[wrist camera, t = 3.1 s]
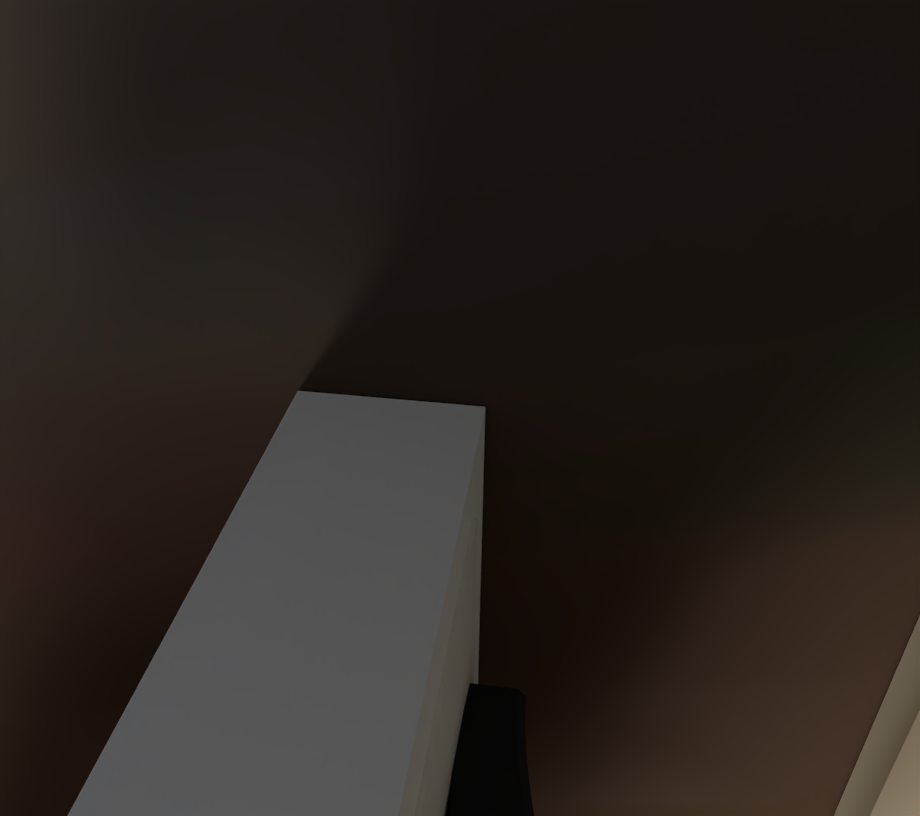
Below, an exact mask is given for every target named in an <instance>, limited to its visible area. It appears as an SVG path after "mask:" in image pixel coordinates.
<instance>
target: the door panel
mask: <svg viewBox="0 0 920 816" xmlns="http://www.w3.org/2000/svg"><path fill="white" fill-rule="evenodd" d="M484 441H485V407H483V406H471V405H459V404H447V403H436V402H424V401H412V400H400V399H389V398H377V397H365V396H353V395H342V394H330V393H318V392H306V391H297V393H296V395H295V397H294V398H293V400H292V402H291V404H290V406H289V408H288V410H287V411H286V413H285V415H284V417H283V419H282V421H281V422H280V424H279V426H278V428H277V430H276V432H275V434H274V435H273V437H272V439H271V441H270V443H269V445H268V446H267V448H266V450H265V452H264V454H263V456H262V458H261V459H260V461H259V463H258V465H257V467H256V469H255V470H254V472H253V474H252V476H251V478H250V480H249V482H248V483H247V485H246V487H245V489H244V491H243V493H242V494H241V496H240V498H239V500H238V502H237V504H236V505H235V507H234V509H233V511H232V513H231V515H230V517H229V518H228V520H227V522H226V524H225V526H224V528H223V529H222V531H221V533H220V535H219V537H218V539H217V541H216V542H215V544H214V546H213V548H212V550H211V552H210V553H209V555H208V557H207V559H206V561H205V563H204V565H203V566H202V568H201V570H200V572H199V574H198V576H197V577H196V579H195V581H194V583H193V585H192V587H191V589H190V590H189V592H188V594H187V596H186V598H185V600H184V601H183V603H182V605H181V607H180V609H179V611H178V613H177V614H176V616H175V618H174V620H173V622H172V624H171V625H170V627H169V629H168V631H167V633H166V635H165V637H164V638H163V640H162V642H161V644H160V646H159V648H158V649H157V651H156V653H155V655H154V657H153V659H152V661H151V662H150V664H149V666H148V668H147V670H146V672H145V673H144V675H143V677H142V679H141V681H140V683H139V685H138V686H137V688H136V690H135V692H134V694H133V696H132V697H131V699H130V701H129V703H128V705H127V707H126V709H125V710H124V712H123V714H122V716H121V718H120V720H119V721H118V723H117V725H116V727H115V729H114V731H113V732H112V734H111V736H110V738H109V740H108V742H107V744H106V745H105V747H104V749H103V751H102V753H101V755H100V756H99V758H98V760H97V762H96V764H95V766H94V768H93V769H92V771H91V773H90V775H89V777H88V779H87V780H86V782H85V784H84V786H83V788H82V790H81V792H80V793H79V795H78V797H77V799H76V801H75V803H74V804H73V806H72V808H71V810H70V812H69V814H68V816H450V811H451V797H452V783H453V770H454V758H455V753H456V748H457V742H458V737H459V732H460V727H461V722H462V717H463V712H464V707H465V702H466V698H467V693H468V688H469V684H470V683H473V684H478V664H479V627H480V590H481V553H482V516H483V478H484Z"/></svg>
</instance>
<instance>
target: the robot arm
mask: <svg viewBox="0 0 920 816" xmlns="http://www.w3.org/2000/svg"><path fill="white" fill-rule="evenodd" d="M525 703H526V696H525V695H524V694H523V693H522V692H520V691H519V690H518V689H514V688H506V687H498V686H490V685H481V684H473V683H470V684H469V688H468V693H467V698H466V702H465V707H464V712H463V717H462V722H461V727H460V732H459V737H458V742H457V748H456V753H455V758H454V770H453V783H452V797H451V811H450V816H534V813H533V807H532V799H531V791H530V783H529V775H528V767H527V755H526V741H525Z"/></svg>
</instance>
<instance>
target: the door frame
mask: <svg viewBox="0 0 920 816" xmlns="http://www.w3.org/2000/svg"><path fill="white" fill-rule="evenodd" d="M834 816H920V616H919V618H918V621H917V623H916V625H915V628H914V630H913V632H912V635H911V637H910V639H909V642H908V644H907V646H906V649H905V651H904V653H903V656H902V658H901V660H900V663H899V665H898V667H897V670H896V672H895V674H894V677H893V679H892V681H891V684H890V686H889V688H888V691H887V693H886V695H885V697H884V700H883V702H882V704H881V707H880V709H879V711H878V714H877V716H876V718H875V721H874V723H873V725H872V728H871V730H870V732H869V735H868V737H867V739H866V742H865V744H864V746H863V749H862V751H861V753H860V756H859V758H858V760H857V763H856V765H855V767H854V770H853V772H852V774H851V777H850V779H849V781H848V784H847V786H846V788H845V791H844V793H843V795H842V798H841V800H840V802H839V805H838V807H837V809H836V811H835V814H834Z"/></svg>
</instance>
